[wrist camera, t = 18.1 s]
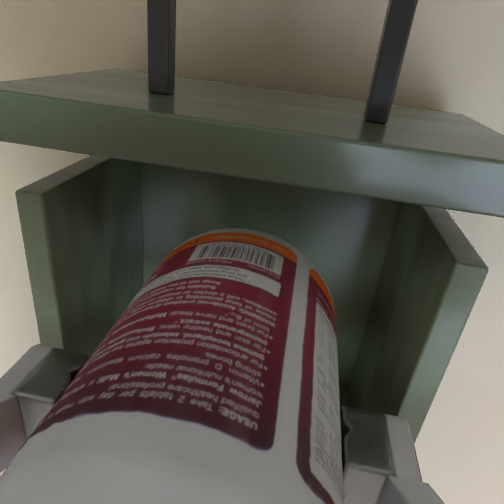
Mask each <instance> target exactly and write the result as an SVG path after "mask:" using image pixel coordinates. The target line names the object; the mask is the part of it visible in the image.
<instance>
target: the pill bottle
mask: <svg viewBox="0 0 504 504" xmlns="http://www.w3.org/2000/svg"><path fill="white" fill-rule="evenodd" d="M0 504H344V497H343V472H342V445H341V421H340V400H339V377H338V353H337V331H336V318H335V308H334V303H333V298H332V295H331V292H330V289H329V287H328V285H327V283H326V281H325V279H324V277H323V276H322V274H321V273H320V271H319V270H318V269H317V267H316V266H315V265H314V264H313V263H312V261H311V260H310V259H309V258H308V257H306V256H305V255H304V254H303V253H302V252H301V251H299V250H298V249H297V248H295V247H294V246H292V245H291V244H289V243H288V242H286V241H284V240H282V239H280V238H278V237H276V236H274V235H272V234H268V233H265V232H260V231H255V230H250V229H242V228H225V229H217V230H212V231H208V232H205V233H202V234H199V235H197V236H194V237H192V238H190V239H188V240H186V241H184V242H183V243H181V244H180V245H178V246H177V247H176V248H174V249H173V250H172V251H171V252H170V253H169V254H168V255H167V256H166V257H165V258H164V260H163V261H162V262H161V263H160V265H159V266H158V267H157V269H156V270H155V271H154V272H153V273H152V274H151V276H150V277H149V279H148V280H147V282H146V283H145V284H144V285H143V287H142V288H141V290H140V291H139V292H138V293H137V294H136V296H135V297H134V298H133V300H132V301H131V303H130V304H129V306H128V307H127V308H126V310H125V311H124V312H123V314H122V315H121V317H120V318H119V319H118V320H117V322H116V323H115V325H114V326H113V327H112V329H111V330H110V331H109V332H108V334H107V336H106V337H105V338H104V339H103V341H102V342H101V343H100V345H99V346H98V347H97V349H96V350H95V351H94V353H93V354H92V356H91V357H90V358H89V359H88V361H87V362H86V363H85V364H84V366H83V367H82V369H81V370H80V371H79V373H78V374H77V375H76V377H75V378H74V380H73V381H72V382H71V383H70V385H69V386H68V387H67V388H66V389H65V391H64V392H63V394H62V395H61V397H60V398H59V399H58V401H57V402H56V403H55V404H54V406H53V407H52V408H51V410H50V411H49V412H48V414H47V415H46V416H45V417H44V418H43V419H42V420H41V421H40V422H39V424H38V426H37V427H36V429H35V430H34V431H33V433H32V434H31V435H30V436H29V437H28V439H27V440H26V441H25V443H24V444H23V445H22V446H21V448H20V449H19V451H18V452H17V454H16V456H15V458H14V459H13V461H12V462H11V463H10V465H9V466H8V467H7V469H6V470H5V472H4V473H3V475H2V476H1V477H0Z"/></svg>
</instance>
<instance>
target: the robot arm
mask: <svg viewBox="0 0 504 504" xmlns="http://www.w3.org/2000/svg"><path fill="white" fill-rule="evenodd" d="M90 357H91V356H90V355H86V354H81V353H77V352H72V351H68V350H64V349H59V348H53V347H49V346H44V345H40V344H37V345H35V346H33V347H31V348H30V349H29V350H28V351H27V352H26V353H25V354H24V355H23V356H22V357H21V358H20V359H19V360H18V361H17V362H16V363H15V364H14V365H13V366H12V367H11V368H10V369H9V370H8V371H7V372H6V373H5V374H4V375H3V376H2V377H1V378H0V472H2V471H3V470H4V469H6V468H7V467H8V466H9V465H10V463H11V462H12V461H13V459H14V458H15V456H16V454H17V452H18V451H19V449H20V448H21V446H22V445H23V444H24V443H25V441H26V440H27V439H28V437H29V436H30V435H31V434H32V433H33V431H34V430H35V429H36V427H37V426H38V424H39V422H40V421H41V420H42V419H43V418H44V417H45V416H46V415H47V414H48V412H49V411H50V410H51V408H52V407H53V406H54V404H55V403H56V402H57V401H58V399H59V398H60V397H61V395H62V394H63V392H64V391H65V389H66V388H67V387H68V386H69V385H70V383H71V382H72V381H73V380H74V378H75V377H76V375H77V374H78V373H79V371H80V370H81V369H82V367H83V366H84V364H85V363H86V362H87V361H88V359H89V358H90ZM340 421H341V445H342V472H343V497H344V504H445V503H444V502H443V501H442V500H441V499H440V497H439V496H438V495H437V494H436V492H435V491H434V490H433V489H432V488H431V486H430V485H429V484H427V483H423V482H421V478H420V473H419V469H418V464H417V460H416V455H415V451H414V446H413V442H412V437H411V433H410V428H409V424H408V421H407V420H406V418H404V417H399V416H393V415H388V414H382V413H378V412H372V411H367V410H362V409H357V408H351V407H346V406H341V407H340Z"/></svg>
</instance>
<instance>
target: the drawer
mask: <svg viewBox="0 0 504 504" xmlns="http://www.w3.org/2000/svg"><path fill="white" fill-rule="evenodd" d="M417 2H418V0H389V3H388V8H387V12H386V17H385V21H384V26H383V30H382V35H381V39H380V44H379V48H378V53H377V57H376V62H375V66H374V71H373V75H372V80H371V84H370V89H369V93H368V98H367V102H366V101H359V100H351V99H343V98H336V97H328V96H321V95H313V94H305V93H298V92H290V91H282V90H275V89H267V88H259V87H252V86H244V85H236V84H229V83H221V82H213V81H206V80H198V79H191V78H183V77H175V32H176V0H147V12H148V73H145V72H137V71H129V70H122V69H110V70H101V71H92V72H83V73H74V74H65V75H56V76H47V77H38V78H29V79H20V80H11V81H2V82H0V141H4V142H10V143H17V144H23V145H30V146H36V147H43V148H50V149H56V150H63V151H69V152H76V153H82V154H89V155H91V156H89V157H87V158H85V159H83V160H81V161H79V162H76V163H74V164H72V165H70V166H68V167H66V168H64V169H62V170H59V171H57V172H55V173H53V174H51V175H49V176H47V177H44V178H42V179H40V180H38V181H36V182H34V183H32V184H29V185H27V186H25V187H23V188H21V189H19V190H17V191H16V193H15V194H16V199H17V205H18V211H19V217H20V223H21V229H22V235H23V241H24V247H25V253H26V259H27V265H28V271H29V277H30V283H31V289H32V295H33V301H34V307H35V313H36V319H37V325H38V331H39V337H40V343H41V345H44V346H49V347H53V348H59V349H64V350H68V351H72V352H77V353H81V354H86V355H90V356H92V354H93V353H94V351H95V350H96V349H97V347H98V346H99V345H100V343H101V342H102V341H103V339H104V338H105V337H106V336H107V334H108V332H109V331H110V330H111V329H112V327H113V326H114V325H115V323H116V322H117V320H118V319H119V318H120V317H121V315H122V314H123V312H124V311H125V310H126V308H127V307H128V306H129V304H130V303H131V301H132V300H133V298H134V297H135V296H136V294H137V293H138V292H139V291H140V290H141V288H142V287H143V285H144V284H145V283H146V282H147V280H148V279H149V277H150V276H151V274H152V273H153V272H154V271H155V270H156V269H157V267H158V266H159V265H160V263H161V262H162V261H163V260H164V258H165V257H166V256H167V255H168V254H169V253H170V252H171V251H172V250H173V249H174V248H176V247H177V246H178V245H180V244H181V243H183V242H184V241H186V240H188V239H190V238H192V237H194V236H197V235H199V234H202V233H205V232H208V231H212V230H217V229H225V228H242V229H250V230H255V231H260V232H265V233H268V234H272V235H274V236H276V237H278V238H280V239H282V240H284V241H286V242H288V243H289V244H291V245H292V246H294V247H295V248H297V249H298V250H299V251H301V252H302V253H303V254H304V255H305V256H306V257H308V258H309V259H310V260H311V261H312V263H313V264H314V265H315V266H316V267H317V269H318V270H319V271H320V273H321V274H322V276H323V277H324V279H325V281H326V283H327V285H328V287H329V289H330V292H331V295H332V298H333V303H334V308H335V318H336V331H337V353H338V377H339V400H340V407H341V406H346V407H351V408H357V409H362V410H367V411H372V412H378V413H382V414H388V415H393V416H399V417H404V418H406V420H407V421H408V424H409V428H410V433H411V437H412V442H413V445H414V443H415V441H416V438H417V436H418V434H419V431H420V429H421V427H422V424H423V422H424V420H425V417H426V415H427V413H428V410H429V408H430V406H431V403H432V401H433V399H434V396H435V394H436V392H437V389H438V387H439V385H440V382H441V380H442V378H443V375H444V373H445V371H446V368H447V366H448V364H449V361H450V359H451V357H452V354H453V352H454V350H455V347H456V345H457V343H458V340H459V338H460V336H461V333H462V331H463V329H464V326H465V324H466V322H467V319H468V317H469V315H470V312H471V310H472V308H473V305H474V303H475V301H476V298H477V296H478V294H479V291H480V289H481V287H482V284H483V282H484V280H485V277H486V275H487V273H488V267H487V265H486V264H485V263H484V261H483V260H482V259H481V257H480V256H479V254H478V253H477V252H476V250H475V249H474V248H473V246H472V245H471V243H470V242H469V241H468V239H467V238H466V237H465V235H464V234H463V232H462V231H461V230H460V228H459V227H458V226H457V224H456V223H455V221H454V220H453V219H452V217H451V216H450V215H449V213H448V212H447V210H446V209H450V210H456V211H463V212H469V213H476V214H483V215H489V216H496V217H502V218H504V135H502V134H500V133H498V132H496V131H494V130H492V129H490V128H488V127H486V126H484V125H482V124H480V123H478V122H476V121H474V120H472V119H470V118H468V117H466V116H464V115H463V114H458V113H451V112H443V111H435V110H428V109H420V108H412V107H405V106H397V105H392V102H393V98H394V94H395V90H396V86H397V82H398V78H399V74H400V70H401V66H402V62H403V58H404V54H405V50H406V46H407V42H408V38H409V34H410V30H411V26H412V22H413V18H414V14H415V10H416V6H417Z"/></svg>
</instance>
